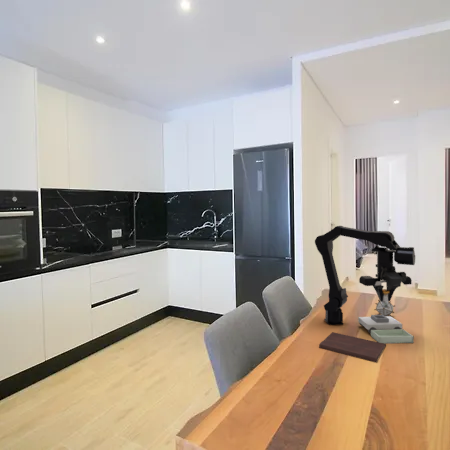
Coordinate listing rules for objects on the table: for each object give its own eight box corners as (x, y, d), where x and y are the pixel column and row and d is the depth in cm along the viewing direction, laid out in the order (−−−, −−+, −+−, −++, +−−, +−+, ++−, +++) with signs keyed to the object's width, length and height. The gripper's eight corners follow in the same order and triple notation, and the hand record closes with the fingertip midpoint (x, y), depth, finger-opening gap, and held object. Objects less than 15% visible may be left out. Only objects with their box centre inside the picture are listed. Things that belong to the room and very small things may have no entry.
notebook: (332, 335, 132) (332, 330, 132) (385, 347, 120) (385, 342, 120) (319, 349, 120) (319, 343, 120) (376, 364, 108) (376, 358, 108)
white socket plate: (368, 334, 131) (368, 321, 130) (358, 325, 140) (358, 313, 140) (402, 333, 131) (402, 320, 130) (390, 325, 140) (390, 312, 140)
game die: (389, 325, 150) (402, 311, 144) (371, 318, 150) (384, 305, 144) (385, 310, 157) (397, 297, 152) (368, 304, 157) (380, 290, 152)
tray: (379, 343, 122) (379, 337, 122) (370, 336, 129) (370, 329, 129) (413, 342, 123) (413, 336, 122) (403, 335, 130) (403, 329, 129)
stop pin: (383, 308, 129) (383, 291, 129) (378, 305, 133) (378, 289, 132) (391, 307, 130) (391, 291, 129) (386, 305, 133) (386, 288, 133)
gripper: (372, 267, 122) (372, 308, 123) (420, 265, 122) (420, 306, 123) (358, 262, 133) (358, 299, 134) (403, 260, 133) (403, 298, 134)
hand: (384, 301), depth 131 cm, fingers closed on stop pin, 3 cm apart
